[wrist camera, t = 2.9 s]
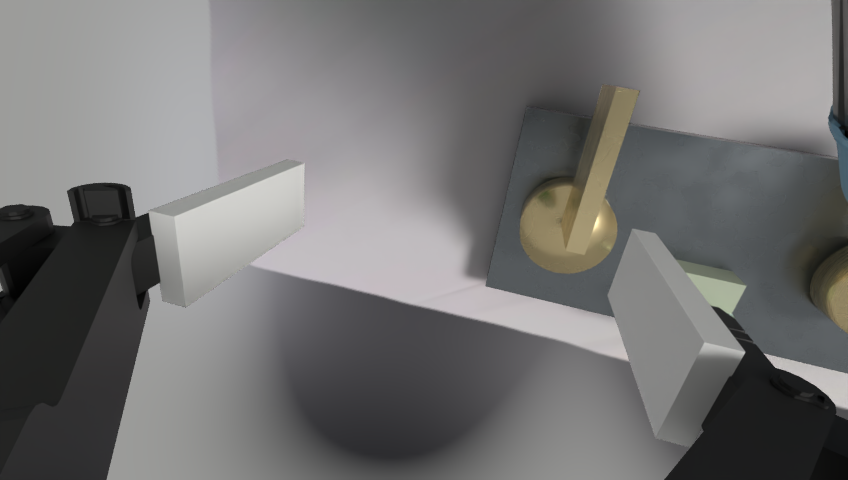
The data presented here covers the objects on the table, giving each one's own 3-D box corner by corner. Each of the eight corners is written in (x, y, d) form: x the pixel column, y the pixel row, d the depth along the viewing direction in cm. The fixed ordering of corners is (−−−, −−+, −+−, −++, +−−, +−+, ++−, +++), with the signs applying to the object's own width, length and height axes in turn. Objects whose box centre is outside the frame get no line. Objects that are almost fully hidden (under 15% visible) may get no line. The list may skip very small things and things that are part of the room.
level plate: (487, 276, 40) (480, 308, 34) (526, 106, 33) (525, 113, 28) (860, 364, 35) (921, 419, 29) (995, 183, 28) (1105, 210, 23)
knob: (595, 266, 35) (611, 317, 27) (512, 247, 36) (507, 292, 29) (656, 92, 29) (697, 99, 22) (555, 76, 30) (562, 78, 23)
